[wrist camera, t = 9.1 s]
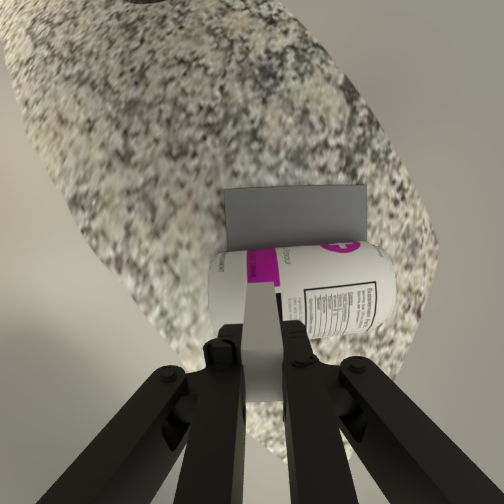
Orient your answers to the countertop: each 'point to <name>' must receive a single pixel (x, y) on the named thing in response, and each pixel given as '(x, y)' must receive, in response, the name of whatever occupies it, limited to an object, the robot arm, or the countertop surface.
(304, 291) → the supplement can
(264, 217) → the mat
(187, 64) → the countertop surface
